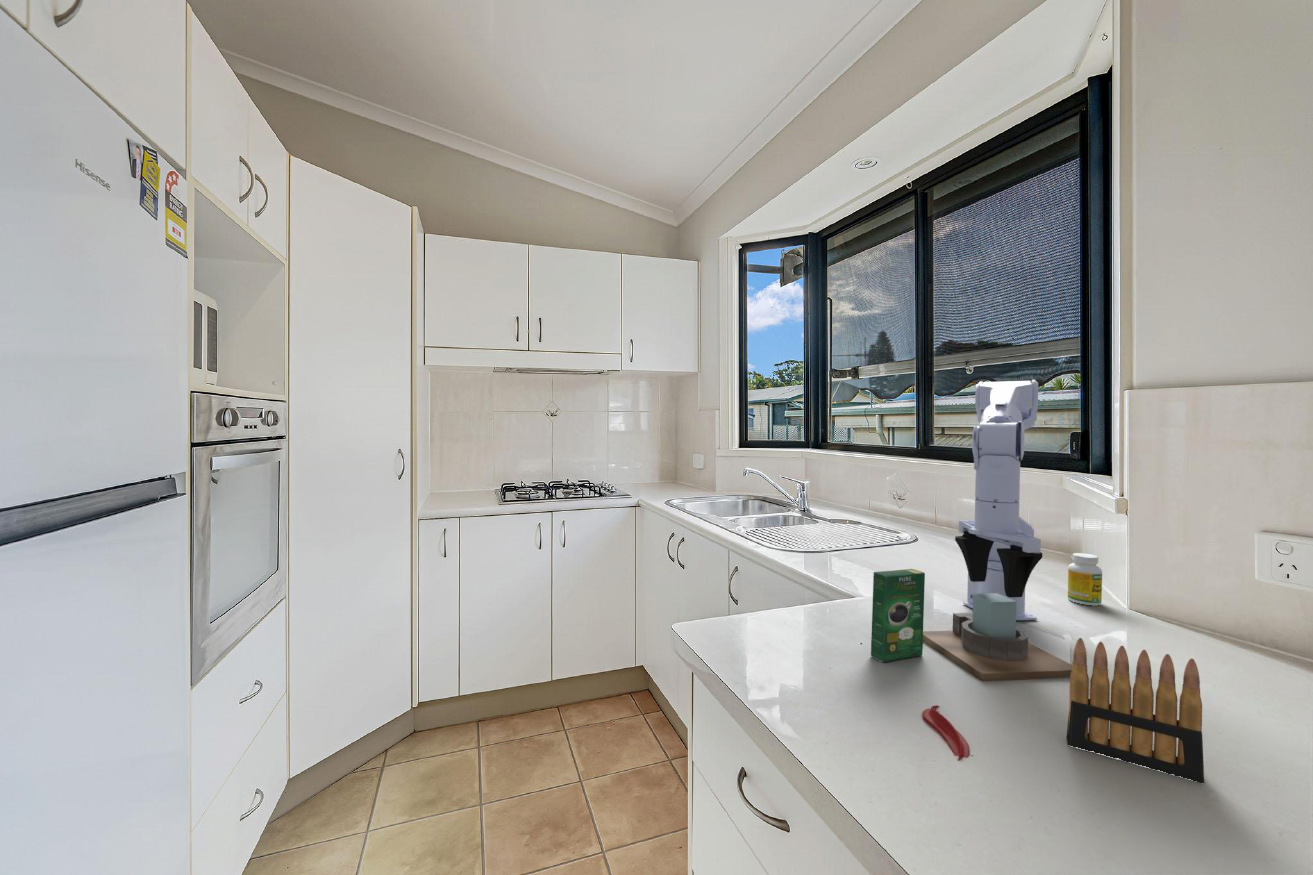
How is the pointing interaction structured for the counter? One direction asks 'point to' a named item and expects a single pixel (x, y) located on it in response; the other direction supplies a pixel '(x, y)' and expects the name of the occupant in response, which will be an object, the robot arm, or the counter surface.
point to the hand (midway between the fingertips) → (994, 588)
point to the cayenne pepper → (947, 732)
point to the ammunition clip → (1137, 713)
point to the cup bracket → (995, 653)
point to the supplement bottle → (1085, 580)
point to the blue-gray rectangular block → (994, 615)
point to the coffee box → (897, 614)
